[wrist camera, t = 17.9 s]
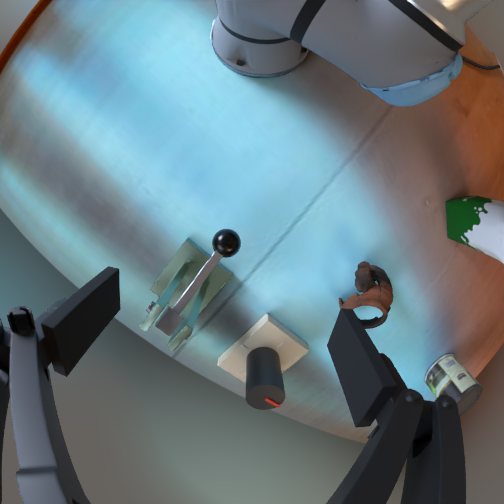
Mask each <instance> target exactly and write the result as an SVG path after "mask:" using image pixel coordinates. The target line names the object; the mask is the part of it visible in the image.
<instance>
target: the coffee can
mask: <svg viewBox="0 0 504 504" xmlns="http://www.w3.org/2000/svg"><path fill="white" fill-rule="evenodd" d="M425 383H426V384H427V385H428V386H429V388H430V389H431V391H432V392H433V393H434V395H435V396H436V398H438V396H439V395H442V394H444V395H448V396H451V397H452V398H453V399H454V400H455V401H456V403H457V405H458V410H459V416H461V415H462V414H464V413H465V412H466V411H467V410H468V409H470V408H471V407H472V406H473V405H474V404H475V402H476V401H477V400H478V398H479V397H480V395H481V393H482V390H483V387H482V386H481V385H480V384H479V383H478V382H477V381H476V380H475V379H474V378H473V376H472V375H471V374H470V373H469V372H468V371H467V370H466V369H465V367H464V366H463V365H462V364H461V363H460V362H459V361H458V360H457V359H456V358H455V356H454V355H453V354H446V355H444V356H442V357H440V358H439V359H438V360H436V361H435V362H434V363H433V364H432V366H431V367H430V368H429V370H428V371H427V373H426V376H425Z"/></svg>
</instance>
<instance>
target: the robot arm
mask: <svg viewBox="0 0 504 504" xmlns="http://www.w3.org/2000/svg"><path fill="white" fill-rule="evenodd" d="M492 1H493V0H215V3H216V7H217V11H218V14H219V15H218V17H217V19H216V21H215V24H214V21H213V25H214V26H213V25H212V30H211V34H210V38H211V40H212V45H213V48H214V51H215V54H216V55H217V57H218V59H219V60H220V61H221V62H222V63H223V64H224V65H225V66H226V67H228V68H229V69H231V70H232V71H234V72H236V73H239V74H242V75H245V76H249V77H254V78H272V77H277V76H281V75H284V74H287V73H289V72H291V71H293V70H294V69H296V68H297V67H298V66H299V65H300V64H301V63H302V62H303V61H304V60H305V58H306V56H307V54H308V52H309V50H311V51H313V52H314V53H316V54H318V55H319V56H321V57H322V58H324V59H326V60H327V61H329V62H330V63H332V64H333V65H335V66H336V67H338V68H339V69H341V70H342V71H344V72H345V73H347V74H348V75H350V76H351V77H352V78H354V79H355V80H356V81H358V82H359V84H360V85H361V86H362V87H363V88H365V89H367V90H370V91H371V92H373V93H374V94H376V95H377V96H378V97H380V98H381V99H382V100H384V101H385V102H386V103H388V104H390V105H394V106H399V107H409V106H413V105H417V104H420V103H422V102H425V101H427V100H429V99H431V98H433V97H434V96H436V95H438V94H439V93H441V92H442V91H443V90H445V89H446V88H447V87H448V86H449V85H450V84H451V82H450V80H452V79H455V78H457V76H458V75H459V73H460V71H461V69H462V65H463V60H464V61H466V62H468V63H470V64H472V65H474V66H476V67H479V68H482V69H486V70H493V69H497V68H500V66H499V65H497V66H492V67H486V66H482V65H479V64H476V63H474V62H472V61H470V60H468V59H466V58H464V57H463V56H461V55H460V52H459V49H460V48H462V47H463V46H464V45H465V44H466V34H465V23H466V22H467V21H468V20H469V19H470V18H472V17H473V16H474V15H475V14H477V13H478V12H479V11H480V10H482V9H483V8H484V7H485V6H487V5H488V4H489V3H490V2H492ZM214 20H215V19H214ZM209 40H210V39H209ZM119 310H120V289H119V269H117V268H113V267H107V268H106V269H104V270H103V271H102V272H101V273H99V274H98V275H97V276H95V277H94V278H93V279H92V280H90V281H89V282H88V283H87V284H86V285H84V286H83V287H82V288H81V289H79V290H78V291H77V292H76V293H75V294H73V295H72V296H71V297H70V298H69V299H66V298H64V299H62V300H59V301H57V302H56V303H55V304H53V305H52V306H51V307H50V308H49V309H47V311H45V312H44V313H43V314H42V315H40V316H39V317H38V318H37V319H36V320H35V321H34V319H33V315H32V311H31V309H30V308H28V307H25V306H19V307H15V308H13V309H11V310H10V311H9V312H8V314H7V317H8V321H9V324H10V327H11V328H6V327H3V324H2V321H1V319H0V504H1V502H2V476H1V475H2V472H1V471H2V448H3V437H4V429H5V421H6V414H7V408H8V403H9V398H10V403H11V415H12V425H13V433H14V439H15V445H16V451H17V456H18V460H19V465H20V471H17V472H16V481H17V485H18V488H19V492H20V495H21V499H22V502H23V504H91V503H90V502H89V500H88V499H87V497H86V496H85V494H84V492H83V489H82V487H81V485H80V482H79V480H78V478H77V475H76V472H75V470H74V467H73V465H72V462H71V459H70V456H69V453H68V450H67V447H66V444H65V441H64V437H63V434H62V430H61V426H60V423H59V419H58V415H57V410H56V406H55V401H54V397H53V391H52V385H51V379H50V373H49V370H48V365H49V364H50V363H51V362H52V365H53V368H54V371H56V372H58V373H60V374H62V375H64V376H66V377H67V376H68V375H69V373H70V372H71V371H72V369H73V368H74V367H75V365H76V364H77V363H78V361H79V360H80V358H81V357H82V356H83V355H84V354H85V352H86V351H87V349H88V348H89V347H90V346H91V345H92V343H93V342H94V341H95V340H96V338H97V337H98V336H99V335H100V333H101V332H102V331H103V330H104V328H105V327H106V326H107V325H108V323H109V322H110V321H111V320H112V319H113V317H114V316H115V315H116V314H117V313H118V311H119ZM327 347H328V350H329V352H330V355H331V358H332V361H333V363H334V366H335V369H336V372H337V374H338V377H339V380H340V383H341V386H342V389H343V391H344V394H345V397H346V400H347V403H348V406H349V409H350V412H351V415H352V418H353V421H354V424H355V427H366V426H370V425H371V424H372V422H373V421H374V420H375V418H376V420H377V423H378V425H377V426H376V427H375V429H374V430H373V431H372V432H371V434H370V435H369V436H368V437H367V438H369V440H368V442H367V443H366V445H365V447H364V449H363V450H362V452H361V454H360V455H359V457H358V459H357V460H356V462H355V463H354V465H353V466H352V468H351V469H350V471H349V473H348V474H347V476H346V477H345V478H344V480H343V482H342V483H341V484H340V486H339V487H338V488H337V490H336V491H335V493H334V494H333V495H332V497H331V498H330V499H329V500H328V502H327V503H326V504H386V502H387V501H388V499H389V497H390V495H391V492H392V490H393V488H394V486H395V484H396V482H397V480H398V477H399V475H400V473H401V471H402V468H403V466H404V463H405V460H406V458H407V465H406V473H405V480H404V488H403V493H402V499H401V504H466V472H465V456H464V445H463V437H462V429H461V423H460V416H459V410H458V405H457V403H456V401H455V400H454V399H453V398H452V397H451V396H448V395H444V394H442V395H439V396H438V398H437V399H436V400H435V402H433V401H426V400H424V399H423V397H422V395H421V394H420V393H419V392H417V391H415V390H413V389H408V388H407V387H406V385H405V383H404V381H403V380H402V378H401V376H400V375H399V373H398V372H397V370H396V368H395V367H394V365H393V363H392V361H391V360H390V359H389V358H388V357H387V356H386V355H385V354H384V353H379V352H378V350H377V349H376V347H375V345H374V344H373V342H372V340H371V339H370V337H369V335H368V334H367V332H366V330H365V329H364V327H363V326H362V324H361V322H360V321H359V319H358V318H357V316H356V314H355V313H354V311H353V310H352V309H345V308H341V310H340V312H339V315H338V318H337V321H336V323H335V326H334V329H333V331H332V334H331V336H330V339H329V342H328V344H327Z"/></svg>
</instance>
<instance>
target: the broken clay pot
mask: <svg viewBox="0 0 504 504" xmlns="http://www.w3.org/2000/svg"><path fill="white" fill-rule="evenodd" d="M355 276H356V279H355V286H356V288H357V290H358V291H359V292H363V293H362V294H361V295H358V294H357V293H355V294H354V295H352V296H351V297H350V298H348V299H347V301H345V302H344V304H343V301H342V299H341V298H339V304H340V308H345V309H354V308H356V307H359V306H362V305H363V306H364V305H368V306H374V307H377V308H379V309H380V310H381V311H382V312H383V315H382V316H381V317H380V318H379V319H378V317H375V318H373V319H370V320H360V319H359V321H360V322H361V324H362V326H363V327H364V329H370V328H375V327H377V326H380V325H381V324H383V323H384V322H385V321H386V319H387V316H388V312H389V311H390V309H391V308H390V307H389V306H390V305H391V303H392V302H393V293H392V292H393V291H392V285H391V283H390V280H389V278H388V277H387V274H386V273H385V271H384V270H383V269H381V268H380V267H378V266H373V265H370V264H369V263H368V262H365V261H364V262H361V263H359V264H358V270H357V271H356V272H355ZM376 280H377V282H378V285H377V284H375V281H376ZM388 307H389V308H388ZM387 308H388V309H387Z"/></svg>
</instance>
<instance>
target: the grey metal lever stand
mask: <svg viewBox="0 0 504 504" xmlns="http://www.w3.org/2000/svg"><path fill="white" fill-rule="evenodd" d="M210 257H211V256H210V255H209V254H208V253H206V252H205V251H204V250H203V249H201V248H200V247H199V246H197V245H196V244H195V243H194V242H192V241H191V240H190V239H189V238H187V239H186V240H185V242H184V243H183V244H182V246H181V247H180V248H179V250H178V251H177V252H176V254H175V255H174V256H173V258H172V259H171V260H170V262H169V263H168V264H167V266H166V267H165V268H164V270H163V271H162V273H161V274H160V275H159V277H158V278H157V280H156V281H155V282H154V284H153V285H152V287H151V288H150V290H151V291H152V292H153V293H154V294H156V295H157V296H158V297H159V299H158V300H157V301H156V303H154V302H153V301H152V303H151V304H150V305H149V307H148V308H147V310H146V311H147V312H149V313H148V315H147V316H146V318H145V319H144V321H143V322H142V324H141V325H140V328H141V329H143V330H144V331H145V332H147V330H148V329H149V328H150V326H151V325H152V324H153V322H154V321H155V320H156V319H157V317H158V316H159V315H160V313H161V312H162V311H163V309H164V308H165V306H166V305H167V304H169V305H170V306H171V307H174V305H175V304H176V303H177V301H178V300H179V298H180V297H181V296H182V294H183V293H184V292H185V290H186V289H187V287H188V286H189V285H190V283H191V282H192V281H193V279H194V278H195V277H196V275H197V274H198V273H199V271H200V270H201V269H202V267H203V266H204V265H205V263H206V262H207V261H208V259H209V258H210ZM232 275H233V273H232V272H231V271H229V270H228V269H227V268H225V267H224V266H223V265H222V264H220V263H219V262H218V263H217V265H216V266H215V267H214V269H213V270H212V271H211V273H210V274H209V275H208V277H207V278H206V279H205V281H204V282H203V284H202V285H201V286H200V288H199V289H198V290H197V292H196V293H195V294H194V296H193V297H192V299H191V300H190V301H189V303H188V304H187V305H186V307H185V308H184V310H183V311H182V312H181V315H182V316H183V318H184V319H183V320H182V322H181V323H180V324H179V326H178V327H177V329H176V330H175V331H174V333H173V334H172V336H171V338H170V341H169V343H168V345H167V347H168V348H169V349H171V350H172V351H174V350H175V349H176V348H177V347H178V346H179V345H180V344H181V342H182V341H183V340H184V339H186V340H187V339H188V338H189V337H190V335H191V333H192V330H193V328H194V325H195V322H196V319H197V316H198V315H199V313H200V312H201V311H202V310H203V309H204V308H205V307H206V305H207V304H208V303H209V302H210V301H211V300H212V299H213V297H214V296H215V295H216V294H217V293H218V292H219V291H220V289H221V288H222V287H223V286H224V285H225V284H226V283H227V281H228V280H229V279H230V278H231V277H232Z"/></svg>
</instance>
